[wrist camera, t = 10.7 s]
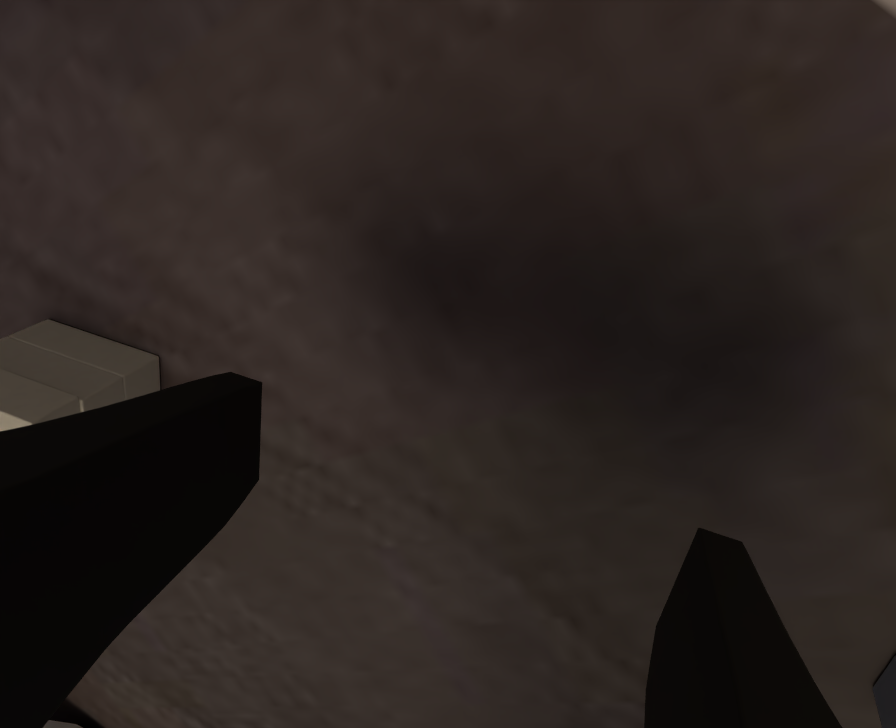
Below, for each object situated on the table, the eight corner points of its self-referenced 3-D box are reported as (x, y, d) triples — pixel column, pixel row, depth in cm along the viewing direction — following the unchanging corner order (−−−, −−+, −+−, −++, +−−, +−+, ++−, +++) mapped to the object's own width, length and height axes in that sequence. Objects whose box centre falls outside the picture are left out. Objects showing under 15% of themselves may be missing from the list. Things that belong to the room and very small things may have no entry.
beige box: (100, 579, 25) (60, 614, 24) (-7, 533, 26) (-51, 564, 25) (79, 396, 22) (31, 423, 20) (-45, 351, 23) (-99, 374, 21)
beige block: (167, 524, 28) (102, 583, 25) (69, 485, 30) (-5, 537, 26) (159, 355, 25) (81, 400, 22) (47, 317, 26) (-42, 355, 23)
